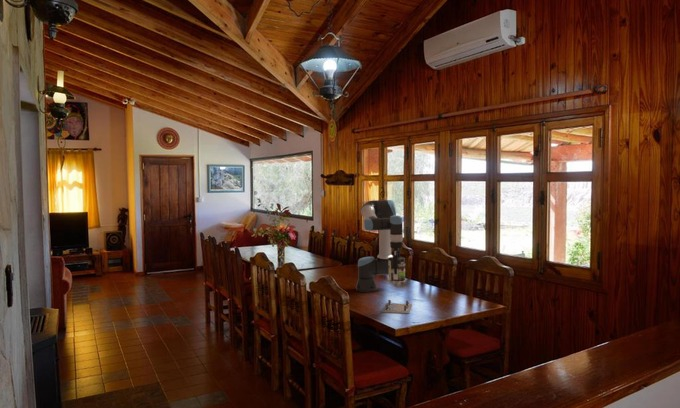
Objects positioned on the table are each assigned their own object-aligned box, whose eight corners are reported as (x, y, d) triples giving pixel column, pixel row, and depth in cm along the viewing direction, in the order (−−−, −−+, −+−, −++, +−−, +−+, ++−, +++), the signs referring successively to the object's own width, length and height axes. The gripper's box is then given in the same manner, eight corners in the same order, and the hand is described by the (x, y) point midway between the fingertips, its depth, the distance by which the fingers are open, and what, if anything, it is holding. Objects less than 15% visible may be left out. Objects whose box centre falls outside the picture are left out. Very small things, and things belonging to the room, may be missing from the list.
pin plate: (386, 305, 314) (386, 299, 313) (411, 306, 310) (411, 300, 310) (382, 312, 298) (382, 305, 298) (409, 313, 294) (409, 306, 294)
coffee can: (409, 281, 302) (408, 258, 301) (396, 283, 296) (396, 260, 295) (397, 278, 310) (397, 256, 309) (384, 280, 304) (384, 257, 303)
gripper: (392, 238, 314) (393, 273, 315) (387, 243, 292) (388, 281, 293) (404, 238, 312) (405, 274, 313) (400, 243, 290) (401, 281, 291)
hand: (396, 277), depth 303 cm, fingers closed on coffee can, 10 cm apart
